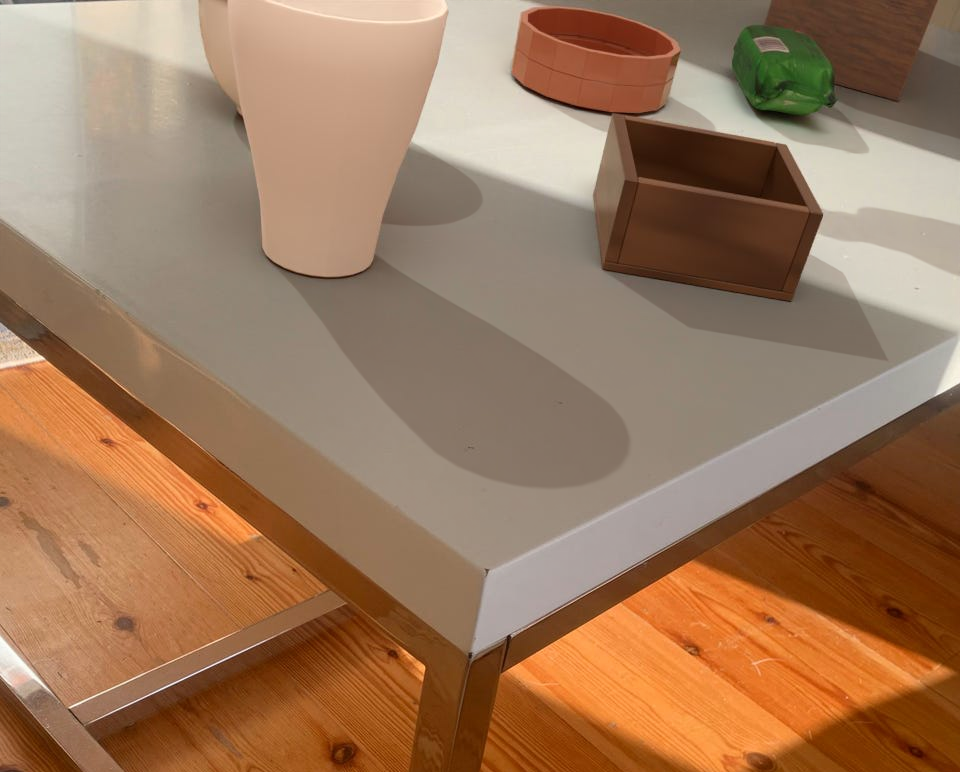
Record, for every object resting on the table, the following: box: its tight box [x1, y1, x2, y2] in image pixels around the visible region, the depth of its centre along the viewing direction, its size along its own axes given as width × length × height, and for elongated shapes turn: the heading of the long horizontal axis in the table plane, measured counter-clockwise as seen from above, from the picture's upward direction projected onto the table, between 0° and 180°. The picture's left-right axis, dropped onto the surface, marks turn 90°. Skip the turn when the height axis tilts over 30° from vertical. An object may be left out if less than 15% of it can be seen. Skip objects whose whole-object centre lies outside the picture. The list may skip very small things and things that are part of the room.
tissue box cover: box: [763, 0, 939, 102], centre depth 115 cm, size 26×14×10 cm, turn 159°
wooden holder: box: [592, 112, 824, 302], centre depth 69 cm, size 12×12×6 cm
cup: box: [228, 0, 449, 278], centre depth 57 cm, size 10×10×14 cm
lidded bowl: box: [197, 0, 243, 118], centre depth 74 cm, size 13×13×11 cm
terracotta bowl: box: [511, 5, 682, 114], centre depth 93 cm, size 13×13×4 cm
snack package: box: [731, 24, 839, 116], centre depth 99 cm, size 7×16×5 cm, turn 178°
